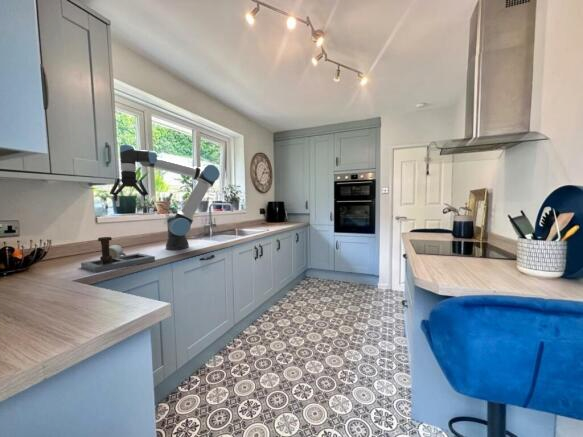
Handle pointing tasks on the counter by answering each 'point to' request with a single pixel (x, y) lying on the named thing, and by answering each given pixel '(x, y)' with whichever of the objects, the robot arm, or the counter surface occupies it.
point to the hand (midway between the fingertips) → (130, 206)
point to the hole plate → (117, 262)
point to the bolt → (105, 249)
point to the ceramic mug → (116, 251)
